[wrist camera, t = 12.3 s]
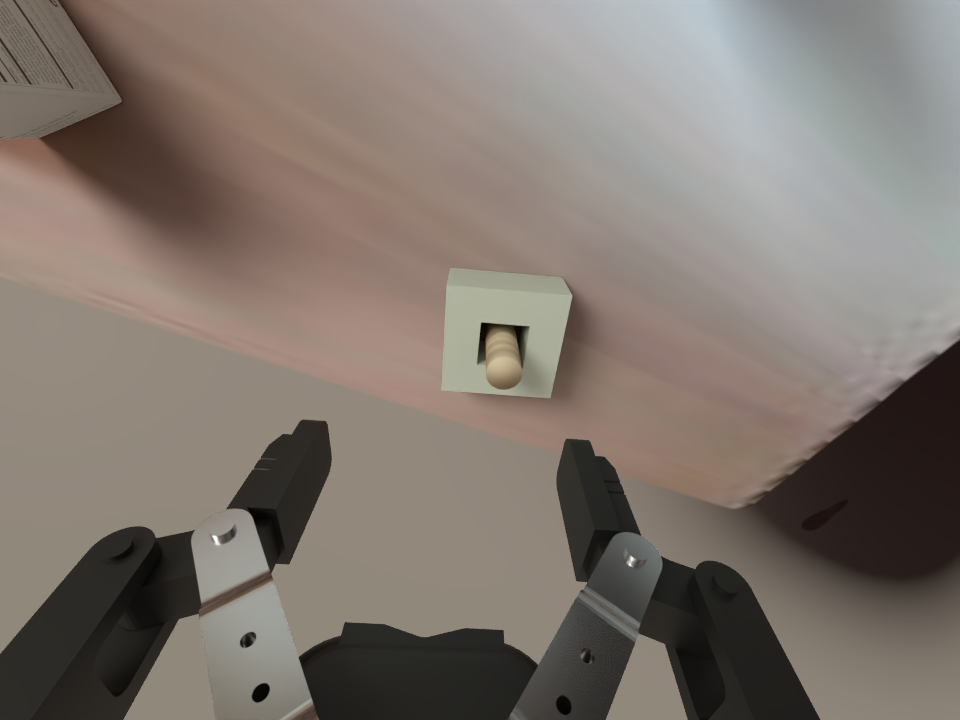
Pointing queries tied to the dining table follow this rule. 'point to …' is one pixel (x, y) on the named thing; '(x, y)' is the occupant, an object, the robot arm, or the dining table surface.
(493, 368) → the peg
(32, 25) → the supplement box
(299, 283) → the dining table surface
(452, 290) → the hole block
